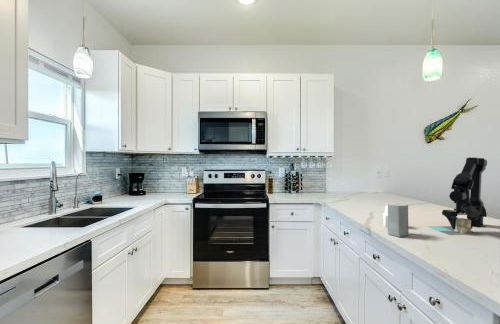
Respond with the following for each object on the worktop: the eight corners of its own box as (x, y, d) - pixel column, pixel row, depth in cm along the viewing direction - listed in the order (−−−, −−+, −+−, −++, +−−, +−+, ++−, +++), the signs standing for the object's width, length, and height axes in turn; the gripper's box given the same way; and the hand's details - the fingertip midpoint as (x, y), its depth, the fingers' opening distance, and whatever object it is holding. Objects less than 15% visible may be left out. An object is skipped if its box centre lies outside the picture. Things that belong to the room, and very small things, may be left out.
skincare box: (399, 237, 133) (399, 206, 133) (386, 234, 140) (386, 203, 139) (409, 235, 137) (409, 204, 137) (396, 231, 144) (396, 202, 143)
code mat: (455, 226, 155) (455, 226, 155) (482, 234, 139) (482, 234, 139) (426, 226, 154) (426, 226, 154) (449, 235, 138) (449, 234, 138)
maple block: (462, 230, 145) (462, 217, 145) (470, 233, 140) (470, 220, 140) (453, 230, 145) (454, 218, 145) (461, 233, 140) (461, 220, 140)
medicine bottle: (396, 225, 157) (396, 205, 157) (399, 228, 150) (399, 207, 150) (383, 224, 159) (383, 204, 159) (385, 227, 153) (385, 206, 152)
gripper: (458, 202, 134) (458, 233, 134) (493, 202, 135) (493, 233, 135) (441, 199, 145) (441, 227, 145) (474, 199, 146) (473, 227, 146)
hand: (462, 229), depth 143 cm, fingers open, 9 cm apart
